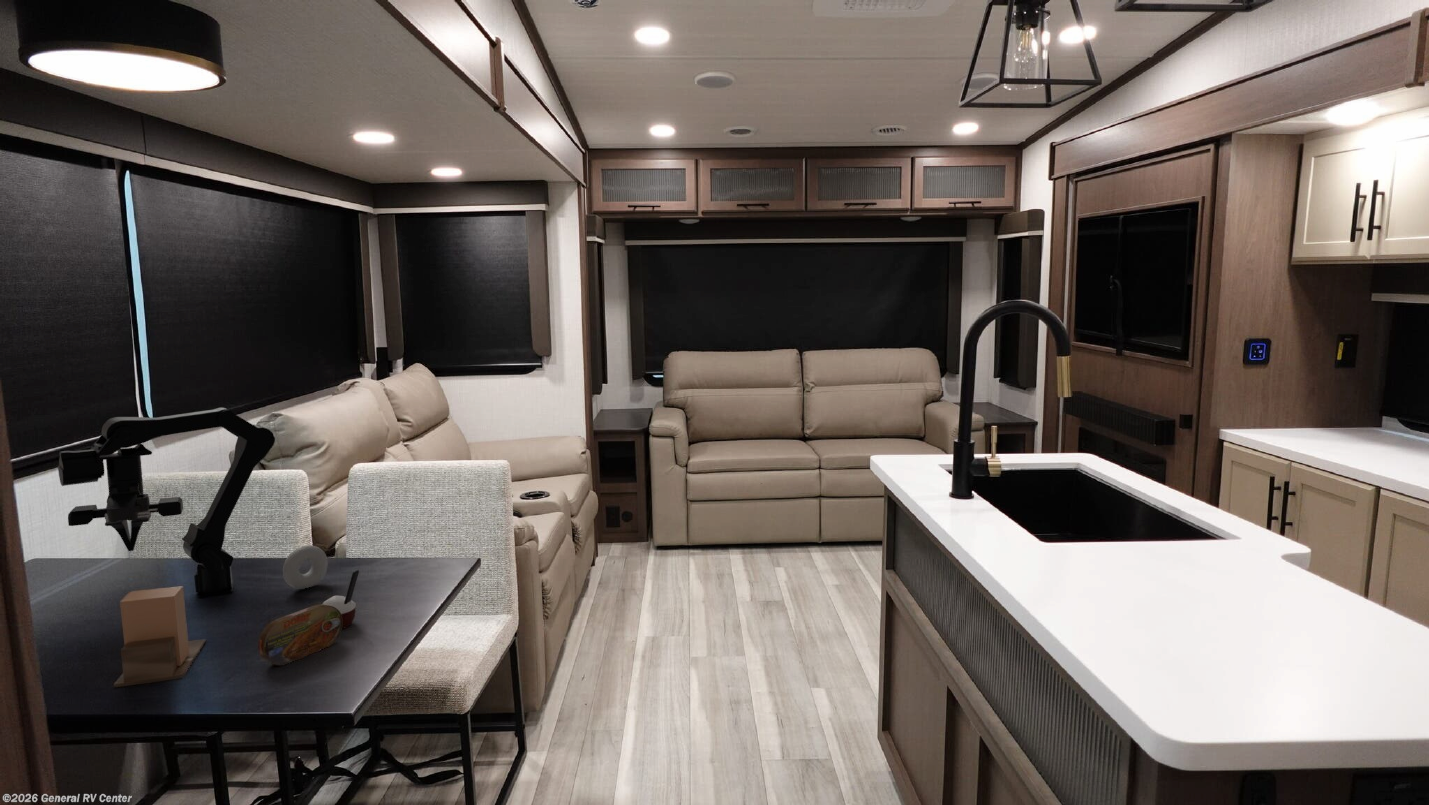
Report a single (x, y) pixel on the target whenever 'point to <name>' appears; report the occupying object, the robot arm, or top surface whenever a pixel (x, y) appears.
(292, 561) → the donut
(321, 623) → the tin
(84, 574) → the top surface
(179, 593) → the rectangular block
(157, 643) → the pipe stand
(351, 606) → the cocoa
